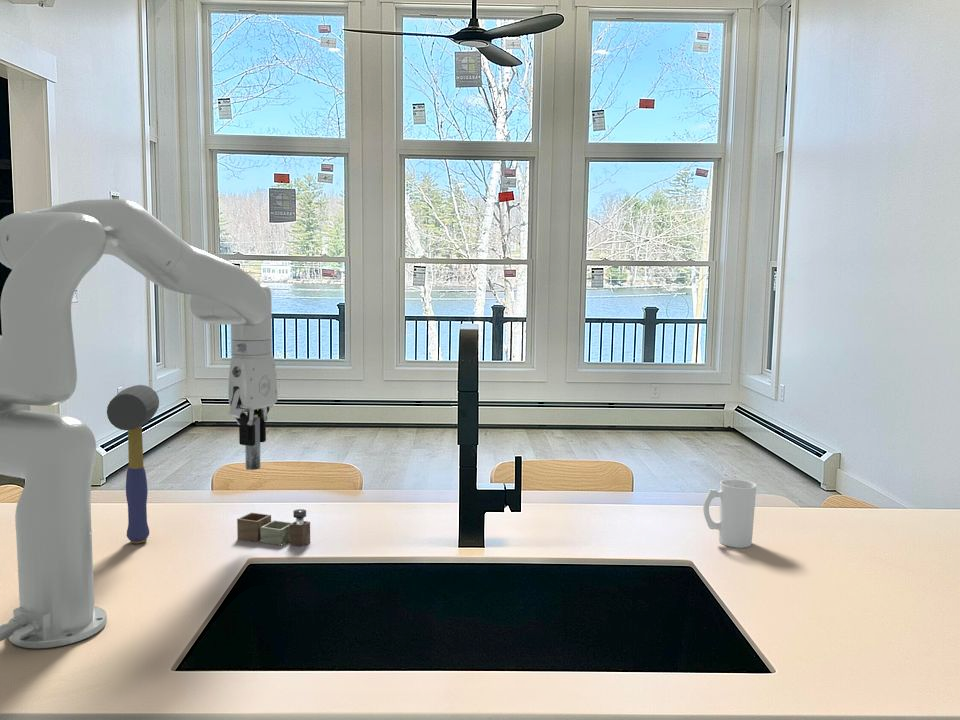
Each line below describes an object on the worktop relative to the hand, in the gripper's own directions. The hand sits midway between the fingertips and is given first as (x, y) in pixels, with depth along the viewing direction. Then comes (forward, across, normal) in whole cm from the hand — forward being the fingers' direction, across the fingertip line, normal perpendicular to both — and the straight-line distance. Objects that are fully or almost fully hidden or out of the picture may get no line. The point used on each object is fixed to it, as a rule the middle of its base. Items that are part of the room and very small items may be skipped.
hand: (252, 442), depth 154 cm
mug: (+19, +31, -88) cm, 95 cm away
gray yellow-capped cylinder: (+5, 0, 0) cm, 5 cm away
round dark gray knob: (+19, 0, -10) cm, 21 cm away
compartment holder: (+19, 0, -5) cm, 20 cm away
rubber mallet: (+19, -10, +19) cm, 29 cm away
